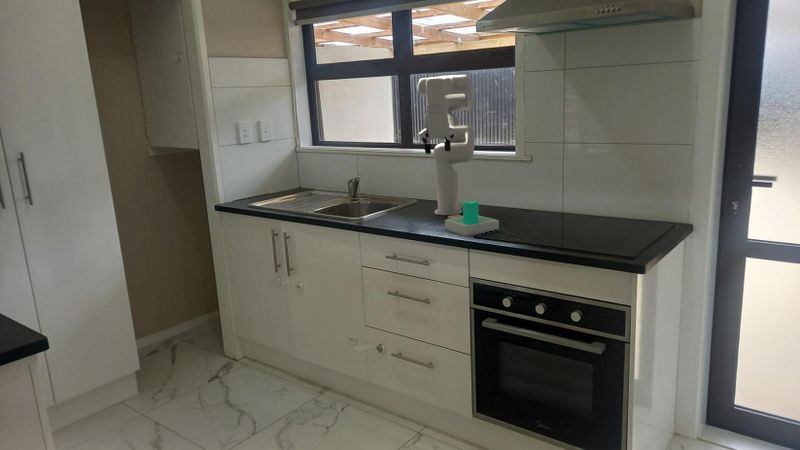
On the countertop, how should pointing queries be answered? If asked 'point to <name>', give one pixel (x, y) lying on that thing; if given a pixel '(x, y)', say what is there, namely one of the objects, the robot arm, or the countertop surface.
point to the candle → (470, 212)
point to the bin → (471, 226)
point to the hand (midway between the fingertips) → (437, 152)
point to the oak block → (454, 216)
